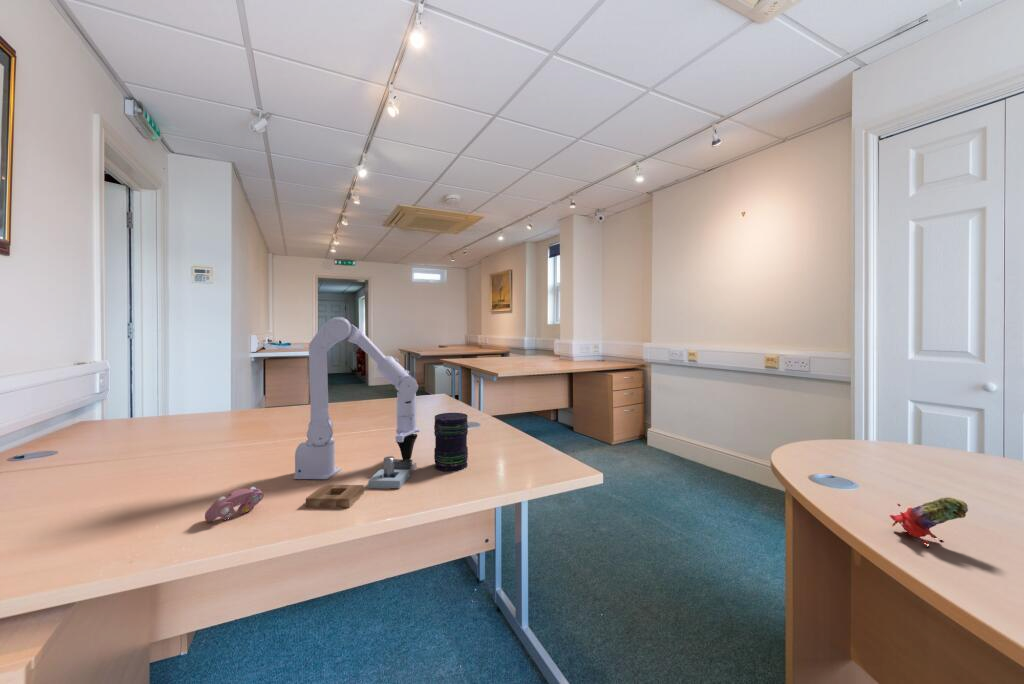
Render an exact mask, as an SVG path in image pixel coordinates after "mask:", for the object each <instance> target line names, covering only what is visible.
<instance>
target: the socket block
mask: <svg viewBox="0 0 1024 684" xmlns="http://www.w3.org/2000/svg"><path fill="white" fill-rule="evenodd" d="M409 477H410V476H409V470H394V478H384V468H382V469H380V468H379V470H378V471H377V472H375V474H373V476H371V478H369V479H368V489H390V488H400V489H401V488H402V487H401V486H404V484H405V483H406V481H407V480H408V479H409ZM404 482H405V483H404Z"/></svg>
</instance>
